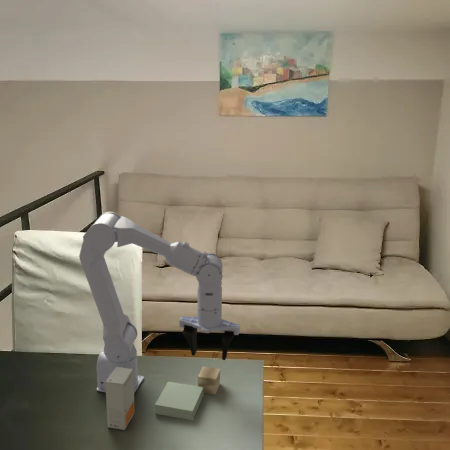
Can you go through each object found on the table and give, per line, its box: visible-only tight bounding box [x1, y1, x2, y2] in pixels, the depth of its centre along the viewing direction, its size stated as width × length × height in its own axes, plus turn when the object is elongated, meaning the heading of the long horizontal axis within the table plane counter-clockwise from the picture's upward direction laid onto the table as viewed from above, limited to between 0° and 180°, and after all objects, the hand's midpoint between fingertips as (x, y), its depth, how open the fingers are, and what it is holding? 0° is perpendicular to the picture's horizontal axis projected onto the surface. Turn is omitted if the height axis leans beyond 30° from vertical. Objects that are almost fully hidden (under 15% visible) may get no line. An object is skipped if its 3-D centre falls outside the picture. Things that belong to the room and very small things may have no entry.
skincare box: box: [105, 367, 135, 431], centre depth 112 cm, size 6×4×12 cm
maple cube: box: [197, 365, 221, 396], centre depth 125 cm, size 4×4×4 cm
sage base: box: [154, 381, 204, 421], centre depth 119 cm, size 9×9×2 cm
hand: (209, 355), depth 123 cm, fingers open, 7 cm apart
